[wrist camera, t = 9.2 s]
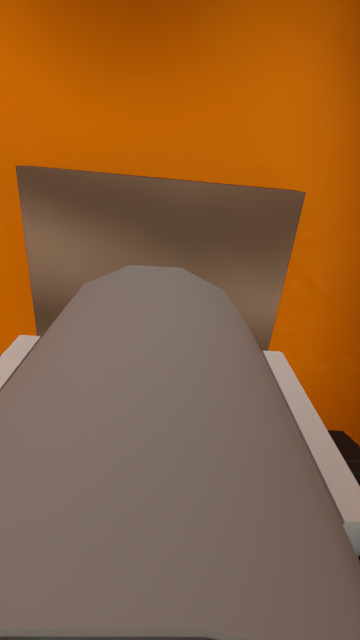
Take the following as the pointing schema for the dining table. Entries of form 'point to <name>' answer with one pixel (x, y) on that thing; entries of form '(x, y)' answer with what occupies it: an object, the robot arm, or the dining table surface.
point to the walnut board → (156, 236)
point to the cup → (162, 480)
